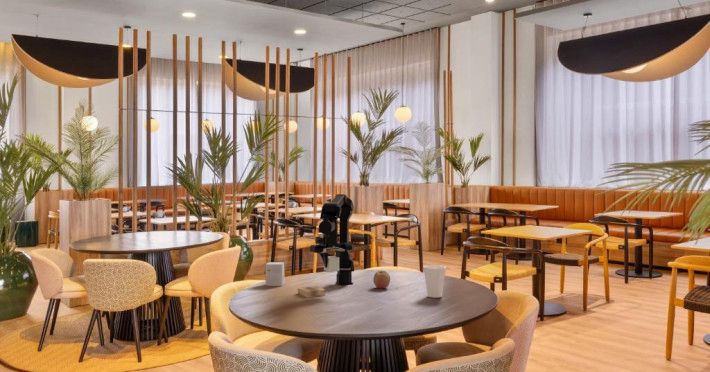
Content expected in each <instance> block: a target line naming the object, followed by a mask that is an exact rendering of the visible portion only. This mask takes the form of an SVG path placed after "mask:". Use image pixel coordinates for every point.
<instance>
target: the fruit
mask: <svg viewBox="0 0 710 372" xmlns="http://www.w3.org/2000/svg"><path fill="white" fill-rule="evenodd" d="M372 281H373V283H374V286H375V287H376V288H377V289H379V290H382V289H386V288H388V287H389V285H390V282H391V275H390V274H389V272H387V271H386V270H377V271H376V272H375V273H374V275H373V279H372Z"/></svg>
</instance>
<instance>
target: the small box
mask: <svg viewBox="0 0 710 372" xmlns="http://www.w3.org/2000/svg"><path fill="white" fill-rule="evenodd" d="M284 285H285V262H283V261H282V262H280V261H277V262H276V261H275V262H273V261H272V262H270V261H269V262H266V264H265V286H266V287H283V286H284Z"/></svg>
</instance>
